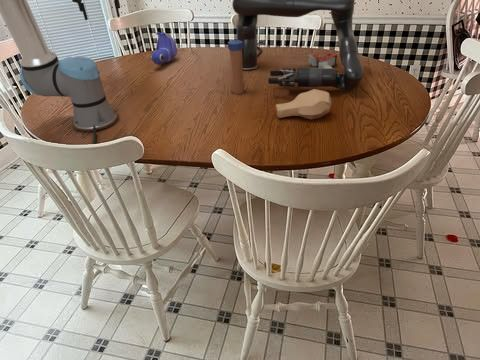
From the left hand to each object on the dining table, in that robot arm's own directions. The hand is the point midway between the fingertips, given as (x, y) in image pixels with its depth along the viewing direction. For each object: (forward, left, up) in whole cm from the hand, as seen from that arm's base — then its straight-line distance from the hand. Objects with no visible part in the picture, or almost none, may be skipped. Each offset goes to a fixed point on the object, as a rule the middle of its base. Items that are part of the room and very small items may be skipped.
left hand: (102, 18), depth 154 cm
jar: (-22, -58, -27) cm, 68 cm away
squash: (-48, -82, -27) cm, 98 cm away
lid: (-22, -58, -7) cm, 62 cm away
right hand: (-24, -71, -21) cm, 78 cm away
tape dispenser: (0, -98, -27) cm, 101 cm away
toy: (+19, -19, -27) cm, 38 cm away
